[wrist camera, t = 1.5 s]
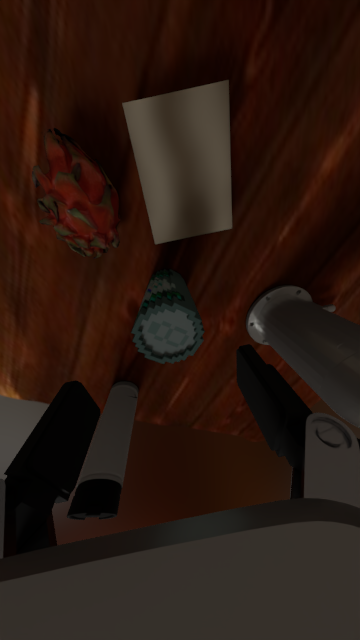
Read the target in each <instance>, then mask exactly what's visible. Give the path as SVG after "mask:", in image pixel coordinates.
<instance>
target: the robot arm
mask: <svg viewBox="0 0 360 640" xmlns="http://www.w3.org/2000/svg"><path fill="white" fill-rule="evenodd" d="M333 311H335V306H334V305H333V304H329V305H324V306H320V305H318V304H316V303H314V302H313V301H312V298H311V296H310V294H309V293H308V292H307V291H306V290H304V289H302V288H300V287H297V286H293V285H283V286H278V287H275V288H273V289H270V290H269V291H267V292H265V293H264V294H263V295H261V296H260V297H259V298H258V299H257V300H256V301H255V302H254V303H253V305H252V306H251V308H250V310H249V312H248V315H247V318H246V328H247V331H248V333H249V335H250V336H251V337H252V338H253V339H254V340H255V341H257V342H258V343H261V344H265V345H271V347H272V348H273V349H274V350H275V351H276V352H277V353H278V354H279V355H280V356H281V357H282V358H283V359H284V360H285V361H286V362H287V363H288V364H289V365H290V366H291V367H292V368H293V369H294V370H295V371H296V372H297V373H298V374H299V376H300V377H301V378H302V379H303V380H304V381H305V382H306V383H307V384H308V385H309V386H310V387H311V388H312V389H313V390H314V391H315V392H316V393H317V394H318V395H319V396H320V397H321V398H322V399H323V400H324V401H325V402H326V403H327V404H328V405H329V406H330V407H331V408H332V409H333V410H334V411H335V412H336V413H337V414H338V415H339V416H341V417H342V418H344V419H345V420H346V421H348V422H349V423H351V424H353V425H355V426H357V427H359V428H360V325H358V324H356V323H353V322H351V321H349V320H347V319H345V318H343V317H340V316H338V315H336V314H334V313H332V312H333ZM237 383H238V386H239V388H240V390H241V392H242V394H243V396H244V398H245V400H246V402H247V404H248V406H249V408H250V410H251V412H252V414H253V416H254V418H255V420H256V421H257V423H258V425H259V427H260V429H261V431H262V433H263V435H264V437H265V439H266V441H267V443H268V445H269V447H270V449H271V450H275V451H276V453H277V455H278V457H281V456H285V457H286V458H287V460H288V462H289V464H290V465H291V466H292V480H291V493H290V500H280V501H274V502H269V503H263V504H257V505H252V506H246V507H241V508H236V509H231V510H226V511H221V512H216V513H211V514H206V515H201V516H196V517H191V518H186V519H181V520H176V521H172V522H168V523H162V524H157V525H153V526H147V527H143V528H138V529H133V530H128V531H124V532H119V533H114V534H109V535H105V536H100V537H95V538H90V539H86V540H81V541H76V542H72V543H68V544H62V545H58V546H57V540H56V534H55V528H54V521H53V515H52V508H53V505H54V503H60V502H66V501H68V499H69V496H70V494H71V492H72V491H73V490H74V488H75V486H76V483H77V480H78V477H79V474H80V471H81V469H82V466H83V463H84V460H85V457H86V454H87V451H88V448H89V446H90V443H91V440H92V437H93V434H94V431H95V428H96V425H97V422H98V420H99V416H100V409H99V407H98V406H97V404H96V403H95V402H94V400H93V399H92V397H91V396H90V394H89V393H88V392H87V390H86V389H85V387H84V386H83V385H82V383H80V382H78V381H71V382H66V383H64V385H63V386H62V387H61V389H60V390H59V392H58V393H57V395H56V396H55V398H54V399H53V401H52V402H51V404H50V405H49V407H48V409H47V410H46V411H45V413H44V414H43V416H42V417H41V419H40V421H39V422H38V423H37V425H36V427H35V428H34V430H33V431H32V433H31V434H30V436H29V437H28V439H27V440H26V442H25V443H24V445H23V446H22V448H21V449H20V451H19V452H18V454H17V455H16V457H15V458H14V460H13V461H12V463H11V464H10V466H9V467H8V469H7V470H6V472H5V473H4V474H5V475H7V478H6V479H5V481H4V480H3V479H0V640H360V439H358V438H356V436H355V435H354V434H353V432H352V431H351V429H350V428H348V427H347V426H346V425H345V424H344V423H343V422H341V421H339V420H338V419H337V418H335V417H333V416H330V415H328V414H324V413H312V411H311V410H310V409H309V408H308V407H307V406H306V404H305V403H304V402H303V401H302V400H301V398H300V397H299V396H298V395H297V394H296V393H295V391H294V390H293V389H292V388H291V387H290V386H289V384H288V383H287V382H286V381H285V380H284V378H283V377H282V376H281V375H280V374H279V373H278V371H277V370H276V369H275V368H274V367H273V366H272V365H270V364H267V365H266V363H265V362H264V361H263V360H262V358H261V357H260V356H259V355H258V353H257V352H256V351H255V350H254V348H253V347H252V346H251V345H250V344H248V345H243V346H240V347H239V349H237Z"/></svg>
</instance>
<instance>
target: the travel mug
mask: <svg viewBox="0 0 360 640" xmlns="http://www.w3.org/2000/svg"><path fill="white" fill-rule="evenodd" d="M138 392H139V390H138V387H137V386H136V385H135V384H133V383H131V382H127V381H121V382H118V383H116V384H114V385H113V386H112V388H111V391H110V394H109V397H108V400H107V402H106V405H105V408H104V411H103V414H102V417H101V420H100V422H99V425H98V428H97V431H96V434H95V436H94V439H93V442H92V445H91V448H90V451H89V454H88V456H87V460H86V462H85V465H84V468H83V471H82V473H81V476H80V481H79V482H78V485H77V489H76V492H75V496H74V497H73V500H72V503H71V506H70V509H69V512H68V515H67V518H70V519H77V520H84V519H85V517H99V519H108V518H113V517H116V516H117V512H118V506H119V500H120V494H121V489H122V485H123V479H124V473H125V467H126V462H127V456H128V450H129V444H130V438H131V432H132V427H133V421H134V415H135V409H136V403H137V397H138Z"/></svg>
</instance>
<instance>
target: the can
mask: <svg viewBox="0 0 360 640" xmlns="http://www.w3.org/2000/svg"><path fill="white" fill-rule="evenodd" d="M201 321H202V320H201V318H200V315H199V313H198V311H197V308H196V306H195V304H194V302H193V299H192V297H191V295H190V292H189V290H188V288H187V285H186V283H185V281H184V279H183V278H182V277H181V274H179V273H177V272H175V271H173V270H171V269H169V271H168V270H166V269H164V270H163V271H162V270H160V272H159V271H157V273H156V275H154V274H153V275H152V277H151V279H150V282H149V284H148V286H147V289H146V292H145V295H144V298H143V301H142V303H141V306H140V309H139V312H138V315H137V318H136V320H135V323H134V326H133V329H132V332H131V333H133V334H135V335H134V338H133V341H132V342H135V343H136V345H135V347H138V352H141V353H144V354H145V356H144V357H145V358H148V359H151V360H154V361H157V362H159V363H162V364H164V363H165V362H166V361H167V362H170V363H173V364H174V362H175V361H177V362H179V361H180V360H181V359H182V360H185V359H186V358H187V356H188V355H191V356H193V354H194V353H195V352H196V350H197V349H198V347H199V346H200V345H201V343H202V342H203V337H202V335H203V333H204V332H205V331H204V329H203V324H202V322H201Z"/></svg>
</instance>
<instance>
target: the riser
mask: <svg viewBox="0 0 360 640" xmlns="http://www.w3.org/2000/svg"><path fill="white" fill-rule="evenodd" d="M122 104H123V108H124V113H125V117H126V121H127V125H128V130H129V134H130V138H131V143H132V147H133V151H134V155H135V160H136V164H137V168H138V172H139V177H140V181H141V185H142V190H143V194H144V198H145V202H146V207H147V211H148V215H149V220H150V224H151V228H152V232H153V237H154V241H155V244H159V243H164V242H169V241H174V240H178V239H183V238H188V237H193V236H198V235H202V234H207V233H212V232H217V231H221V230H226V229H231V228H232V200H231V158H230V115H229V80H226V81H221V82H217V83H212V84H208V85H203V86H199V87H194V88H190V89H185V90H180V91H176V92H171V93H167V94H162V95H158V96H153V97H149V98H144V99H140V100H135V101H131V102H126V103H122Z"/></svg>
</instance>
